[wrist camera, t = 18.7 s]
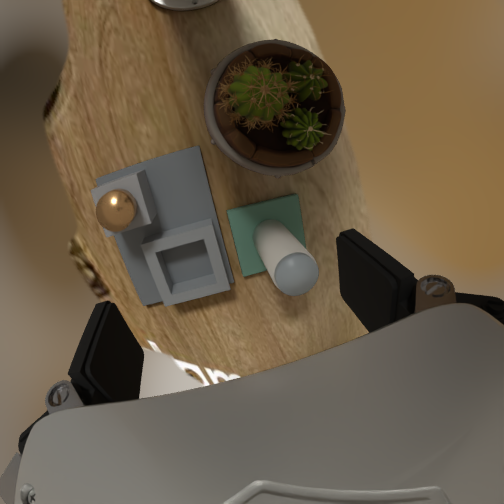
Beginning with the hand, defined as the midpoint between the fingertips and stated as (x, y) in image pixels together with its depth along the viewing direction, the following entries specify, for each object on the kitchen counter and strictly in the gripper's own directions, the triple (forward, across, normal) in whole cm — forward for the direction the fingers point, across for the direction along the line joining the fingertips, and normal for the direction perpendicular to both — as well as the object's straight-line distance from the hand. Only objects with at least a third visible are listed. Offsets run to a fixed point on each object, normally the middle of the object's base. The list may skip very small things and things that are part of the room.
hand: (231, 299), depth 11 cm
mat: (+28, -6, +10) cm, 30 cm away
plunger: (+26, +10, -1) cm, 28 cm away
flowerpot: (+28, -9, -7) cm, 30 cm away
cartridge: (+26, -6, +10) cm, 29 cm away
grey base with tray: (+28, +7, +5) cm, 29 cm away
